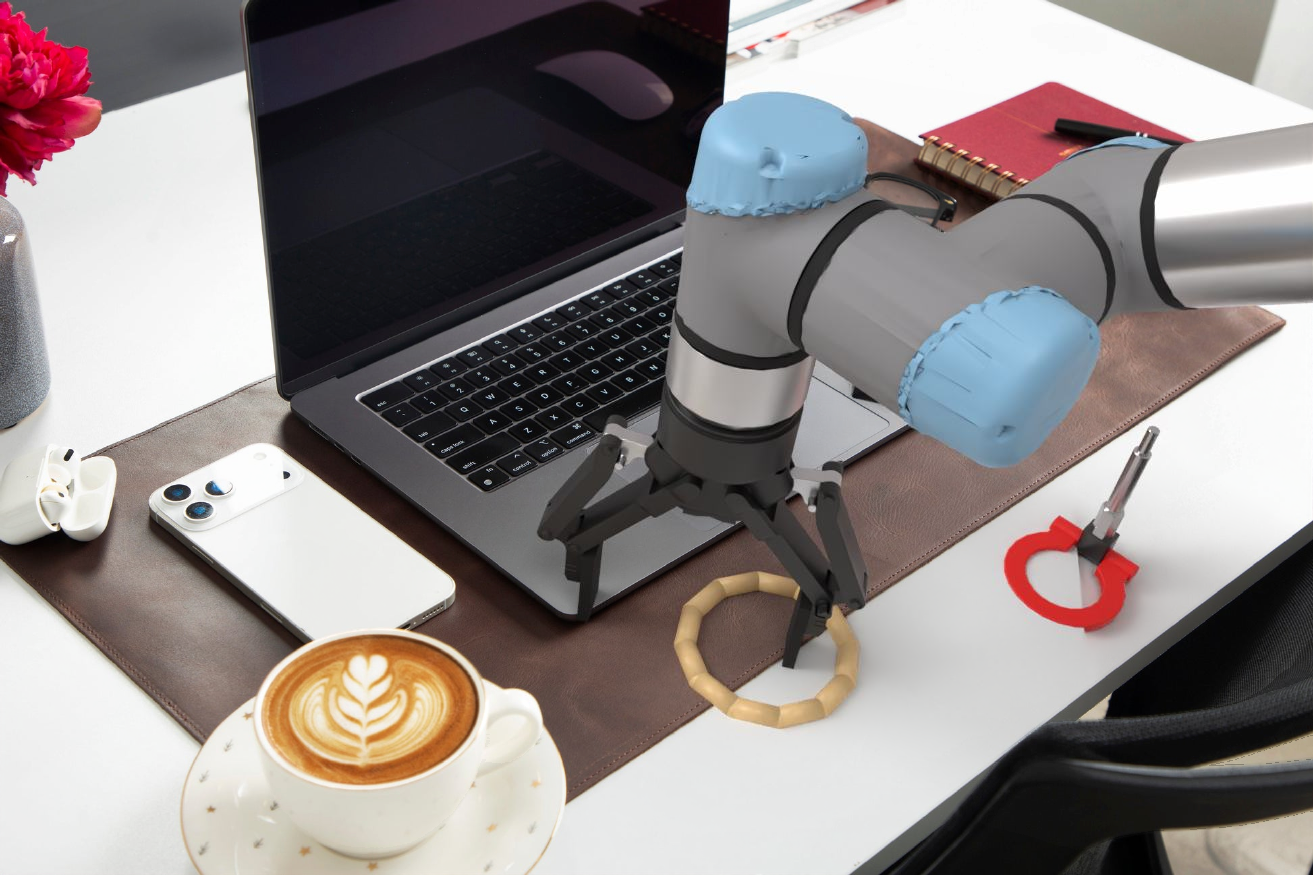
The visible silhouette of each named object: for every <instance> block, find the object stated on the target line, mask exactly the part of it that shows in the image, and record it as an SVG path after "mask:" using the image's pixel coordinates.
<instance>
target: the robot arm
mask: <svg viewBox="0 0 1313 875" xmlns="http://www.w3.org/2000/svg"><path fill="white" fill-rule="evenodd" d="M868 155H869V142H868V138H867V136H866V133H865V132H864V130H863V129H862V128H861V127H860V126H859V125H857V124H855V122H854V119H853V117H852V116H851V115H850V113H847V112H846V110H844V109H842V108H841V107H839V106H836V105H834V104H832V103H830V102H828V101H825V100H823V99H820V98H817V97H814V96H810V95H806V94H801V93H796V92H789V91H759V92H758V91H757V92H752V93H747V94H744V95H741V96H740V97H739V98H737V99H734V100H728V101H727V102H724V103H723V104H722V105H720V106H719V107H717V108H716V109H715V110H714V111H713V112H711V114H710V115H709V117H708V118H707V119H706V121H705V123H704V126H703V128H702V131H701V135H700V140H699V145H698V150H697V154H696V159H695V164H694V168H693V173H692V176H691V182H690V184H689V186H688V188H687V189H686V194H685V195H686V196H685V198H686V211H685V222H684V231H683V232H684V234H683V244H682V256H681V265H680V273H679V282H678V290H677V292H676V296H675V305H674V308H673V310H672V318H671V324H670V325H671V326H670V333H669V342H668V349H667V357H666V364H665V372H664V375H665V378H664V381H663V385H662V391H661V392H662V393H661V400H660V406H659V414H658V421H657V428H656V431H654V432H653V433H652V434H651V435H648V434H645V433H641V432H638V431H635V430H631V429H628V421H627V419H626V418H625V417H624V416H622V415H619V414H612V415H610V416H608V418H607V419H606V423H605V425H604V428H603V430H602V433H601V436H600V439H599V441H598V444H597V445H596V446H595V448H594V449H593V450H592V451H591V453H590V454H589V455H588V456H587V457H586V458H585V459H584V460H583V461H582V463H581V464H580V465H579V466H578V467H577V468H576V470H575V471H574V472H572V474H571V475H570V476H569V477H568V479H567V480H566V481H565V482H564V483H563V485H561V487H560V488H559V489H558V490H557V492H555V493H554V495H553V496H552V497H551V498H550V499H549V501H548V502H547V504H546V507H545V509H544V512H543V514H542V517H541V519H540V521H539V524H538V528H537V530H536V535H537V536H538V538H539V539H541V540H543V541H545V542H553V541H554V540H557V541H559V542H561V543H562V544H563V545H564V547H565V560H564V561H565V564H564V576H565V578H566V580H567V581H570V582H573V583H579V589H578V590H579V592H578V601H577V612H576V614H577V615H576V620H577V621H580V622H581V621H582V622H586V623H589V621H590V618H591V614H592V611H593V608H594V605H595V602H596V599H597V596H598V592H599V587H600V585H599V584H600V576H601V567H602V558H603V557H602V556H603V547H604V542H606V541H607V540H609V539H610V538H612V537H614V536H616V535H618V534H620V533H621V532H623V531H625V530H627V529H629V528H631V527H632V526H634V525H636V524H639V523H640V522H642V521H644V520H645V519H648V517H652V519H656V518H659V517H660V516H662V515H664V514H666V513H668V512H669V511H671V510H673V509H675V508H679V509H681V510H682V514H683V515H684V514H685V515H689V516H694V517H708V518H712V519H714V520H716V521H718V522H721V523H726V524H729V525H734V526H735V525H736V523H737V522H743V524H744V525H745V526H746V528H747V529H748V530H749V531H750V533H751V534H752V535H753V537H754V538H755V539H756V540H757V541H758V542H764V543H765V544H766V546H767V547H768V548H769V549H770V551H771V552H772V553H773V555H774V556H775V557H776V558H777V560H778V561H779V563H780V564H781V565H782V566H783V567H784V568H785V570H786V571H787V573H788V574H789V575H790V577H791V579H794V580H795V582H796V583H797V584H798V585H799V587H800V590H799V594H798V597H797V600H795V604H794V608H793V611H792V615H791V618H790V622H789V625H788V627H787V631H786V636H785V644H784V650H783V656H782V661H781V667H782V668H787V669H791V670H794V669H795V665H796V663H797V660H798V656H799V653H800V649H801V647H802V643H803V639H804V636H805V635H809V636H812V637H818V638H820V637H821V635H822V634H824V631H825V628H826V622H827V619H829V618H831V616H832V611H833V606H834V605H837V606H838V605H843V604H844V605H845V606H846V607H847V608H849V609H850V610H853V611H859V610H862V609H864V608H865V607H866V603H867V602H866V601H867V592H868V582H869V571H868V568H867V565H866V562H865V559H864V556H863V553H862V551H861V548H860V544H859V542H858V539H857V536H856V533H855V530H854V527H853V524H852V521H851V518H850V515H849V513H848V509H847V507H846V504H845V503H846V502H845V501H844V498H843V495H842V488H843V487H842V485H843V477H844V466H843V464H842V463H840V462H838V461H835V460H829V461H826V462H824V463H823V464H822V467H821V470H820V469H813V468H804V467H799V466H796V465H795V463H794V461H793V457H792V456H793V452H794V449H795V444H796V441H797V437H798V432H799V429H800V425H801V422H802V417H803V413H804V406H805V401H806V400H807V399H808V398H807V397H808V393H809V390H810V385H811V382H812V378H813V375H814V374H813V373H814V369H815V366H816V363H817V362H816V361H818V363H821V364H823V365H824V366H825V367H826V368H828V369H829V370H831V371H832V372H834V373H835V374H837V375H838V376H840V377H841V378H842V379H844V380H846V382H848V383H850V384H851V385H852V386H853V385H854V386H856V387H857V388H859V389H860V390H861V391H863V392H864V393H866V394H867V395H869V396H870V397H872V398H873V399H875V400H876V401H877V402H879V403H878V404H880V405H881V406H883V407H884V408H886V409H888V410H889V411H890V412H892V413H893V414H895V415H896V416H898V417H899V418H900V419H902V420H903V421H904V422H905V423H906V425H908V426H909V427H910V428H911V429H914V430H915V431H916V433H919V434H921V435H922V436H924V435H927V436H929V437H930V438H932V439H935V440H937V441H939V442H940V443H942V444H944V445H945V446H947V447H949V448H951V449H952V450H954V451H956V452H958V453H959V454H961V455H963V456H965V457H966V458H968V459H969V460H971V461H973V462H975V463H976V464H978V465H980V466H983V467H984V468H985V467H986V468H989V469H1005V468H1010V467H1013V466H1016V465H1018V464H1019V463H1021V462H1023V461H1025V460H1026V459H1028V458H1029V457H1031V455H1033V454H1034V453H1035V452H1036V451H1038V449H1040V447H1041V446H1043V444H1044V443H1045V442H1046V441H1047V439H1048V438H1049V436H1050V435H1051V433H1052V432H1053V431H1054V429H1056V428H1059V426H1060V425H1061V423H1062V422H1063V421H1064V420H1065V418H1067V416H1068V414H1069V413H1070V411H1071V410H1072V409H1073V407H1074V406H1075V404H1076V402H1077V401H1078V400H1079V398H1080V397H1081V394H1082V393H1083V391H1084V389H1085V388H1086V386H1087V385H1088V382H1089V380H1090V378H1091V376H1092V374H1093V373H1094V370H1095V368H1096V365H1097V363H1098V359H1099V356H1100V352H1101V346H1102V338H1101V337H1102V336H1101V331H1100V329H1099V328H1100V327H1102V325H1104V324H1106V323H1107V322H1108V321H1109V320H1111V319H1112V318H1114V317H1116V316H1120V315H1124V314H1137V313H1157V312H1158V313H1159V312H1177V311H1179V312H1181V311H1192V310H1195V311H1196V310H1199V309H1213V308H1215V309H1217V308H1235V307H1236V308H1237V307H1257V306H1258V307H1259V306H1277V305H1279V306H1280V305H1300V304H1313V121H1312V122H1308V123H1302V124H1301V123H1300V124H1295V125H1289V126H1283V127H1277V128H1270V129H1265V130H1258V131H1252V132H1246V133H1241V134H1240V133H1239V134H1235V135H1229V136H1228V135H1227V136H1222V137H1215V138H1210V139H1203V140H1198V141H1191V142H1186V143H1185V142H1184V143H1183V144H1178V145H1172V144H1171V145H1170V144H1168V143H1165V142H1162V141H1160V140H1157V139H1154V138H1149V137H1145V136H1139V135H1138V136H1136V135H1135V136H1134V135H1133V136H1123V137H1118V138H1113V139H1110V140H1107V141H1105V142H1102V143H1100V144H1098V145H1094V146H1091V147H1088V148H1084V149H1081V150H1078V151H1076V152H1073V153H1072V154H1070V155H1069V156H1068V157H1066V158H1065V159H1063V160H1062V161H1060V162H1058V163H1056V164H1055V165H1054V166H1053V167H1052V168H1051V169H1050V170H1047V171H1046V172H1044V173H1042V174H1041V175H1040V176H1038V177H1036V178H1034V179H1033V180H1031V181H1029V182H1027V184H1025V185H1023V186H1021V187H1020V188H1018V189H1016V190H1015V191H1013V192H1011V193H1010V194H1008V195H1007V196H1005V197H1003V198H1001V199H1000V200H998V201H997V202H995V203H993V204H991V205H989V206H988V207H986V208H985V209H984V210H982V211H979V212H978V213H976V214H974V215H972V216H971V217H969V218H967V219H965V220H964V221H962V222H960V223H959V224H957V225H955V226H954V227H951V228H950V229H948V230H947V231H945V232H943V231H940V230H939V229H937V228H935V227H934V226H931V225H929V224H927V223H925V222H924V221H923V220H920V219H919V218H917V217H915V216H913V215H911V214H909V213H907V212H906V211H904V210H903V209H900V208H898V207H896V206H894V205H892V204H890V203H889V201H887V200H885V199H883V198H881V197H880V196H878V195H876V194H874V193H872V192H870V191H869V190H867V189H866V188H865V187H864V186H865V184H866V179H867V178H866V177H867V176H868V174H867V173H868V167H867V163H868ZM877 402H876V403H877ZM636 459H642V460H644V463H645V465H646V467H647V469H648V470H647V472H646V473H645V474H643V475H642V476H640V477H639V478H636V479H635V480H633V481H631V482H630V483H627V485H625V486H623V487H621V488H619V489H618V490H616V491H614V492H613V493H611V494H609V495H607V496H606V497H603V499H600V500H599V501H597V502H595V503H594V504H592V505H590V506H588V507H587V508H585V507H586V506H587V505H588V504H589V503H590V501H592V500H593V498H594V497H595V496H596V495H597V494H598V493H599V492H600V491H601V490H602V489H603V488H604V486H605V485H606V484H607V483H608V481H609V480H610V479H611V478H612V475H613V473H614V470H617V471H623V470H624V467H627V466H629V465H630V464H632V462H633V461H634V460H636ZM792 491H793V492H795V493H798V494H799V495H801V497H802V500H803V503H804V504H805V505H806V506H807V508H806V509H807V511H808V512H810V513H815V525H816V528H817V531H818V534H819V537H820V539H821V543H822V544H823V547H824V550H825V552H826V555H827V557H826V556H825V555H824V553H823V552H822V551H821V549H820V548H819V547H818V546H817V544H816V543H815V541H814V540H813V538H812V537H811V536H810V535H809V533H808V532H807V531H806V529H805V528H804V526H803V525H802V523H800V521H799V520H798V519H797V516H795V515H794V513H793V511H792V510H791V509H790V508H789V506H788V505H787V502H786V498H787V497H788V496H789V495H790V494H791V493H792ZM827 558H828V559H827ZM819 636H820V637H819Z"/></svg>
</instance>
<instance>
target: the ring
mask: <svg viewBox="0 0 1313 875" xmlns="http://www.w3.org/2000/svg"><path fill="white" fill-rule="evenodd" d="M799 590H800V587H799V585H798V584H797V583H796V582H795V580H794V579H793V578H792V577H788V576H787V577H786V576H781V575H777V574H772V573H769V572H763V571H759V570H756V571H755V570H754V571H749V572H743V573H740V574H734V575H730V576H723V577H719V578H715V579H713V580H712V581H711V582H709V583H708V584H707V585H706V586H705V587H703V589H701V590H699V591H698V593H697V594H695V595H694V596H693V597H692V598H691V599H689V600H688V601H687V602H686V603H685V604H684V605H683V606H682V608H681V612H680V616H679V621H678V624H677V628H676V633H675V637H674V641H673V648H674V651H675V653H676V655H677V659H678V660H679V663H680V666H681V668H682V670H683V673H684V675H685V678H686V680H687V683H688V685H689V687H690V688H691V689H693V690H694V691H695V692H696V693H698V694H699V695H700V696H701V697H703V698H704V699H705V700H706V701H708V702H709V703H710V704H712V705H713V706H714V707H715V708H717V709H718V710H719V711H720V712H721V713H722V714H724V715H725V716H726V717H728V718H731V719H734V720H739V721H743V722H747V723H751V724H756V725H761V726H765V727H769V728H773V729H778V730H782V729H787V728H791V727H794V726H795V727H796V726H799V725H803V724H807V723H811V722H815V721H820V720H823V719H827V718H828V717H829V716H830V715H832V713H833V712H834V711H835V710H836V709H837V708H838V707H839V706H840V705H841V704H842V703H843V701H844V700H846V698H847V697H848V696H849V695H850V694H851V693H852V692H853V691H854V690H855V688H856V687H857V680H858V667H859V659H860V658H859V657H860V643H859V641H858V639H857V638H856V636H855V634H854V631H852V629H851V627H850V625H849V622H848V621H847V619H846V617H845V616H844V614H843V612H842V610H841V608H840V607H839V606H838V604H837V605H834V606H833V611H832V616H831V618H829V619H827V622H826V625H825V628H827V631H828V632H829V634H830V636H831V638H832V640H833V641H834V644H835V646H836V648H837V650H836V659H835V660H836V661H835V667H834V676H833V677H832V679H830V681H828V683H826V684H825V686H824V687H822V689H820V690H819V692H818V693H817V694H816V695H815V696H814V697H812V698H808V699H803V700H799V701H796V702H791V703H787V704H783V705H774V704H769V703H765V702H761V701H756V700H752V699H748V698H744V697H740V696H738V695H736V694H735V693H734V692H733V691H731V690H730V689H729V688H728V687H726V686H725V685H723V683H721V682H720V681H719V680H717V679H716V678H715V677H714V676H712V675H711V674H710V673H709V672H708V669H707V667H706V665H705V662H704V659H703V658H702V655H701V652H700V650H699V648H698V645H697V642H698V638H699V633H700V629H701V624H702V620H703V617H704V616H705V615H706V614H708V613H709V612H710V611H711V610H713V608H715V607H716V606H717V605H718V604H719V603H721V601H723V599H725V598H727V597H728V598H729V597H732V596H738V595H742V594H746V593H752V592H757V591H758V592H759V591H760V592H763V593H769V594H773V595H778V596H782V597H787V598H790V599H794V600H795V601H797V597H798V594H799Z"/></svg>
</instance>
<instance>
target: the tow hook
mask: <svg viewBox="0 0 1313 875" xmlns="http://www.w3.org/2000/svg"><path fill="white" fill-rule="evenodd" d="M1160 433H1161V430H1160V428H1159V427H1158V426H1155V425H1150V426H1148V428H1147V429H1146V432H1145V434H1144V435H1143V437H1142V439H1141V441H1140V443H1139V445H1137V446H1135V447H1134V448H1133V450H1132V452H1131V454H1130V455H1129V457H1128V460H1127V462H1126V463H1125V465H1124V468H1123V470H1122V471H1121V474H1120V475H1119V478H1118V480H1117V482H1116V483H1115V486H1114V487H1113V490H1112V491H1111V493H1110V496H1109V497H1108V499H1107V500H1105V501H1103V503H1101V505H1100V507H1099V510H1098V512H1097V514H1096V516H1095V518H1093V519H1092V520H1091V521H1090V522H1089V523H1088V524H1087V525H1086V526H1085V527H1084V528H1083V529H1082V528H1080V527H1079V526H1077V525H1076V524H1075V523H1073V522H1071V521H1070V520H1068V519H1067V518H1065V517H1063V516H1062V515H1061V514H1059V515H1058V516H1057V517H1055V518H1054V520H1052V522H1051V524H1050V526H1049V530H1048V531H1038V532H1034V533H1031V534H1030V533H1029V534H1026V535H1024V536H1022V537H1020V538H1018V539H1016V540H1015V541H1014V542H1013V544H1012V545H1011V546H1010V547H1009V548H1008V549H1007V552H1006V555H1005V557H1004V560H1003V573H1004V576H1005V578H1006V581H1007V584H1008V586H1009V587H1010V589H1011V590H1012V592H1013V593H1014V595H1015V597H1017V598H1018V599H1019V600H1020V601H1021V602H1022V603H1023V604H1024V605H1025V606H1026V608H1029V609H1030V610H1031V611H1033V612H1034V613H1036V614H1037V615H1039V616H1041V617H1043V618H1045V619H1046V620H1049V621H1051V622H1053V623H1056V624H1059V625H1063V626H1067V627H1072V628H1083V631H1084V632H1091V631H1095V630H1099V629H1102V628H1104V627H1106V626H1107V625H1109V624H1110V623H1112V622H1114V620H1115V619H1116V617H1118V615H1119V613H1120V612H1121V611H1122V609H1123V608H1124V603H1125V600H1126V596H1127V595H1126V594H1127V592H1126V585H1125V584H1126V583H1130V582H1131V581H1132V580H1133V579H1134V578H1135V576H1136V575H1137V574H1138V572H1139V570H1140V567H1141V566H1140V565H1138V564H1137V563H1135V562H1134V561H1132V560H1130V559H1129V558H1128V557H1126V556H1124V555H1123V554H1121V553H1120V552H1118V551H1117V550H1115V549H1114V547H1115V546H1116V544H1117V542H1118V541H1119V538H1120V537H1121V535H1120V533H1118V532H1117V531H1118V529H1119V527H1120V525H1121V524H1122V521H1123V519H1124V517H1125V514H1126V513H1125V512H1126V511H1125V510H1126V509H1125V508H1126V506H1127V504H1128V502H1129V500H1130V498H1131V497H1132V494H1133V492H1135V491H1134V490H1135V489H1136V487H1137V485H1138V483H1139V481H1140V479H1141V477H1142V476H1143V473H1144V471H1145V470H1146V468H1147V466H1148V464H1149V462H1150V460H1151V458H1152V456H1153V455H1152V449H1153V447H1154V444H1155V443H1156V441H1157V439H1158V437H1159V436H1160ZM1074 546H1075V549H1076V551H1077V552H1078V553H1080V555H1083V556H1084V557H1085V558H1087V559H1089V560H1090V561H1091V562H1093V563H1095V564H1096V565H1097V566H1096V568H1095V570H1094V576H1095V577H1096V580H1097V581H1098V584H1099V586H1100V587H1099V588H1100V597H1099V599H1098V600H1097V602H1095V603H1093V604H1091V605H1090V606H1085V607H1081V608H1070V607H1066V606H1062V605H1059V604H1056V603H1054V602H1051V601H1050V600H1048V599H1046V598H1045V597H1043V596H1042V595H1041V594H1039V592H1037V591H1036V590H1035V589H1034V587H1033V586H1032V585H1031V582H1029V579H1028V576H1027V569H1026V568H1027V563H1028V560H1030V559H1031V558H1032V556H1034V555H1036V554H1039V553H1040V552H1046V551H1057V552H1061V553H1067V552H1069V551H1070V550H1071V549H1072V548H1073V547H1074Z"/></svg>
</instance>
